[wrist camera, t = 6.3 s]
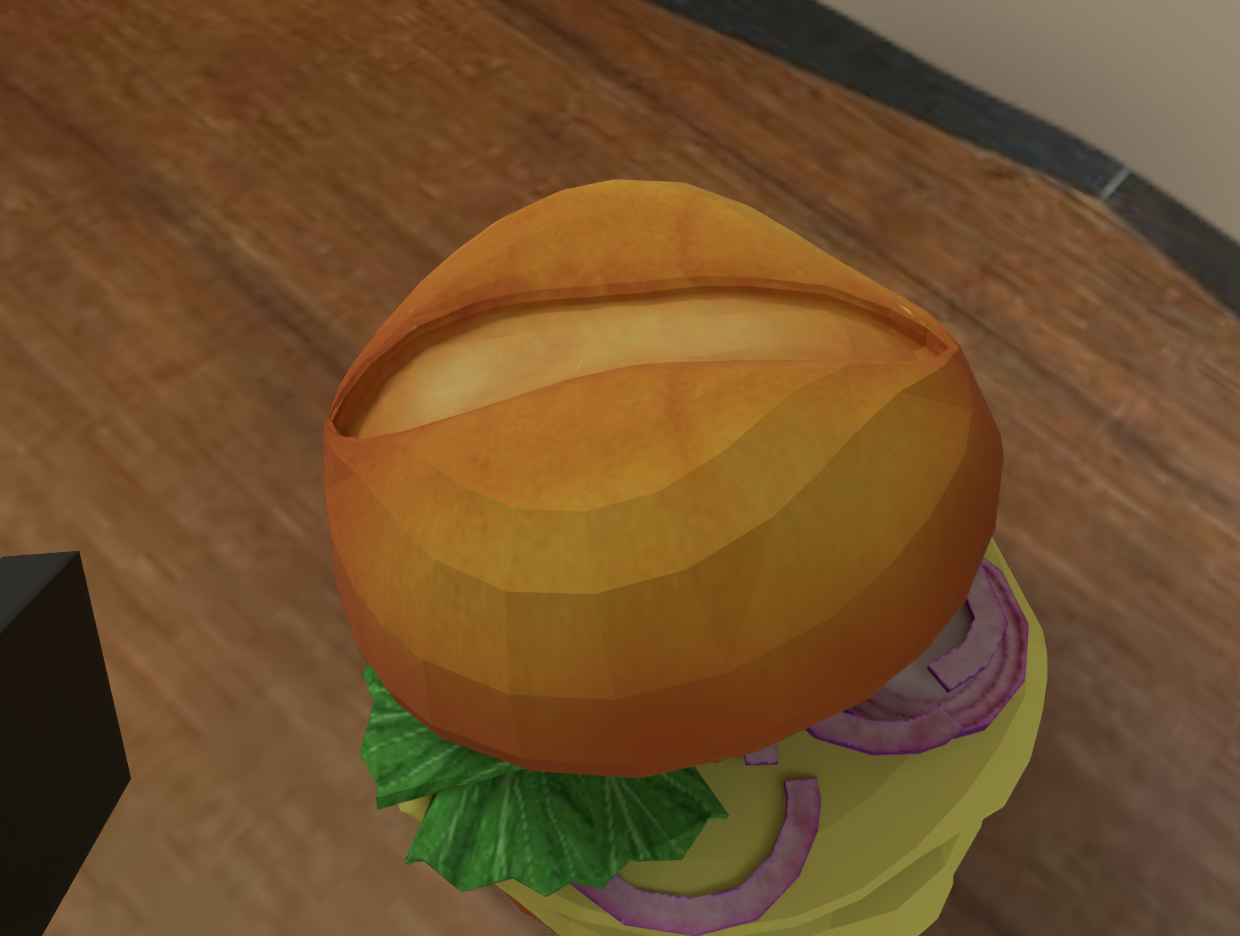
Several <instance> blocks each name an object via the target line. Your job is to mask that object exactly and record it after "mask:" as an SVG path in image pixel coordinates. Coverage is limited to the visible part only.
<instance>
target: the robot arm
mask: <svg viewBox="0 0 1240 936" xmlns="http://www.w3.org/2000/svg"><path fill="white" fill-rule="evenodd" d="M130 779H131V776H130V772H129V767H128V763H127V759H126V754H125V750H124V746H123V741H122V737H121V732H120V728H119V724H118V719H117V715H116V710H115V706H114V702H113V697H112V693H111V689H110V684H109V680H108V675H107V671H106V667H105V662H104V658H103V653H102V649H101V645H100V640H99V636H98V631H97V627H96V623H95V618H94V614H93V610H92V605H91V601H90V596H89V592H88V588H87V583H86V579H85V574H84V570H83V566H82V561H81V557H80V552H79V551H72V552H59V553H46V554H33V555H20V556H6V557H2V558H1V559H0V936H42V935H43V933H44V931H45V929H46V928H47V926H48V924H49V922H50V921H51V919H52V917H53V915H54V914H55V912H56V910H57V908H58V906H59V905H60V903H61V901H62V899H63V898H64V896H65V894H66V892H67V891H68V889H69V887H70V885H71V884H72V882H73V880H74V878H75V876H76V875H77V873H78V871H79V869H80V868H81V866H82V864H83V862H84V861H85V859H86V857H87V855H88V853H89V852H90V850H91V848H92V846H93V845H94V843H95V841H96V839H97V838H98V836H99V834H100V832H101V831H102V829H103V827H104V825H105V823H106V822H107V820H108V818H109V816H110V815H111V813H112V811H113V809H114V808H115V806H116V804H117V802H118V800H119V799H120V797H121V795H122V793H123V792H124V790H125V788H126V786H127V785H128V783H129V781H130Z"/></svg>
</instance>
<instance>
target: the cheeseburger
mask: <svg viewBox="0 0 1240 936" xmlns="http://www.w3.org/2000/svg"><path fill="white" fill-rule="evenodd" d="M1003 459H1004V457H1003V448H1002V442H1001V436H1000V432H999V430H998V427H997V425H996V423H995V421H994V419H993V417H992V414H991V412H990V410H989V408H988V406H987V403H986V401H985V399H984V397H983V395H982V393H981V390H980V388H979V386H978V384H977V382H976V379H975V377H974V375H973V373H972V371H971V369H970V366H969V364H968V362H967V360H966V358H965V355H964V353H963V351H962V349H961V347H960V345H959V344H958V343H957V342H956V340H955V339H954V338H953V337H952V336H951V335H950V334H949V333H948V332H947V331H946V330H945V328H944V327H943V326H942V325H941V324H940V323H939V322H938V321H937V320H936V319H935V318H934V317H932V316H931V315H930V314H928V313H927V312H925V311H924V310H922V309H921V308H920V307H918V306H917V305H915V304H913V303H911V302H910V301H908V300H906V299H904V298H903V297H901V296H899V295H897V294H895V293H894V292H892V291H890V290H888V289H887V288H885V287H883V286H881V285H880V284H878V283H876V282H874V281H873V280H871V279H869V278H868V277H866V276H864V275H863V274H861V273H859V272H857V271H856V270H854V269H852V268H851V267H849V266H847V265H846V264H844V263H842V262H841V261H839V260H837V259H835V258H834V257H832V256H830V255H829V254H827V253H826V252H824V251H822V250H821V249H819V248H818V247H816V246H815V245H813V244H811V243H810V242H808V241H807V240H805V239H803V238H802V237H800V236H799V235H797V234H796V233H794V232H792V231H791V230H789V229H787V228H786V227H784V226H782V225H781V224H779V223H777V222H776V221H774V220H772V219H770V218H769V217H767V216H765V215H764V214H762V213H760V212H759V211H757V210H755V209H753V208H752V207H750V206H748V205H745V204H742V203H740V202H737V201H734V200H731V199H729V198H726V197H723V196H721V195H718V194H715V193H712V192H710V191H707V190H704V189H701V188H699V187H696V186H693V185H691V184H688V183H682V182H661V181H640V180H618V179H614V180H609V181H604V182H599V183H595V184H590V185H585V186H580V187H575V188H570V189H566V190H561V191H559V192H557V193H555V194H552V195H550V196H548V197H546V198H544V199H542V200H540V201H537V202H535V203H533V204H531V205H529V206H527V207H524V208H522V209H520V210H518V211H516V212H514V213H512V214H509V215H508V216H506V217H504V218H502V219H500V220H499V221H497V222H495V223H493V224H492V225H491V226H489V227H488V228H487V229H485V230H484V231H482V232H481V233H480V234H478V235H477V236H475V237H474V238H473V239H471V240H470V241H469V242H467V243H466V244H464V245H463V246H462V247H460V248H459V249H457V250H456V251H455V252H454V253H453V254H452V255H450V256H449V257H448V258H447V259H446V260H445V261H444V262H443V263H441V264H440V265H439V266H438V267H437V268H436V269H435V270H434V271H432V272H431V273H430V274H429V275H428V276H427V277H426V278H425V279H423V280H422V281H421V282H420V283H419V284H418V286H417V287H416V288H415V289H414V290H413V291H412V292H411V293H410V295H409V296H408V297H407V298H406V299H405V300H404V301H403V302H402V304H401V305H400V306H399V307H398V308H397V309H396V310H395V311H394V312H393V314H392V315H391V316H390V317H389V318H388V319H387V320H386V321H385V323H384V324H383V325H382V326H381V327H380V328H379V330H378V331H377V332H376V334H375V335H374V336H373V338H372V339H371V340H370V342H369V343H368V344H367V346H366V347H365V348H364V350H363V351H362V352H361V354H360V355H359V356H358V358H357V359H356V360H355V362H354V363H353V364H352V366H351V367H350V369H349V370H348V372H347V374H346V375H345V377H344V379H343V380H342V382H341V383H340V385H339V387H338V390H337V393H336V395H335V398H334V401H333V403H332V406H331V409H330V411H329V414H328V417H327V419H326V422H325V425H324V448H323V468H324V488H325V497H326V504H327V511H328V518H329V525H330V533H331V543H332V552H333V562H334V571H335V581H336V584H337V587H338V590H339V593H340V596H341V599H342V602H343V605H344V608H345V611H346V614H347V617H348V620H349V623H350V625H351V628H352V631H353V634H354V637H355V640H356V643H357V646H358V648H359V650H360V651H361V653H362V654H363V656H364V657H365V659H366V660H367V662H368V663H369V664H368V665H367V667H366V669H365V670H364V672H363V676H364V679H365V681H366V684H367V686H368V689H369V691H370V694H371V696H372V699H373V701H374V704H373V708H372V711H371V715H370V718H369V722H368V726H367V729H366V733H365V736H364V740H363V744H362V747H361V751H360V755H361V757H362V759H363V761H364V762H365V764H366V766H367V767H368V769H369V771H370V773H371V774H372V776H373V778H374V779H375V781H376V783H377V785H378V787H377V796H376V800H377V809H382V808H385V807H389V806H392V805H396V804H398V806H399V808H400V810H401V811H402V812H403V813H405V814H407V815H408V816H410V817H411V818H413V819H415V820H416V821H418V822H419V823H421V824H420V826H419V829H418V831H417V834H416V836H415V838H414V841H413V843H412V845H411V848H410V850H409V852H408V855H407V857H406V860H405V862H404V863H406V864H408V865H410V864H412V863H414V862H419V861H425V862H426V863H427V864H428V865H430V866H431V867H432V868H433V869H434V870H435V871H437V872H438V873H439V874H440V875H441V876H443V877H444V878H445V879H446V880H447V881H448V882H450V883H451V884H452V885H453V886H454V887H456V888H457V889H458V890H459V891H460V892H465V891H469V890H473V889H476V888H480V887H484V886H487V885H491V884H495V885H497V886H498V887H499V888H501V889H502V890H504V891H505V892H506V894H507V895H508V896H509V897H510V898H511V899H512V901H513V902H514V903H515V904H516V905H517V907H518V908H519V909H520V910H521V911H522V912H524V913H526V914H528V915H530V916H532V917H534V918H536V919H538V920H540V921H541V922H543V923H545V924H546V925H547V926H548V927H550V928H551V929H552V930H553V931H555V932H556V933H557V934H558V935H559V936H919V935H920V934H921V933H922V932H923V931H924V930H925V929H927V928H928V927H929V926H930V925H931V924H932V923H933V922H934V921H936V920H937V919H938V917H939V915H940V913H941V910H942V908H943V906H944V904H945V901H946V899H947V897H948V895H949V892H950V890H951V888H952V886H953V875H954V873H955V871H956V870H957V868H958V866H959V864H960V863H961V861H962V859H963V857H964V856H965V854H966V852H967V850H968V849H969V847H970V845H971V843H972V842H973V840H974V838H975V836H976V835H977V833H978V831H979V829H980V828H981V825H982V821H983V819H984V818H986V817H987V816H989V815H991V814H992V813H994V812H996V811H997V810H999V809H1001V808H1002V807H1004V805H1005V804H1006V802H1007V800H1008V798H1009V797H1010V795H1011V793H1012V791H1013V789H1014V788H1015V786H1016V784H1017V782H1018V781H1019V779H1020V777H1021V775H1022V773H1023V772H1024V770H1025V768H1026V766H1027V764H1028V763H1029V761H1030V759H1031V755H1032V751H1033V747H1034V743H1035V740H1036V736H1037V732H1038V728H1039V724H1040V720H1041V716H1042V712H1043V707H1044V697H1045V691H1046V685H1047V679H1048V674H1047V650H1046V644H1045V639H1044V633H1043V630H1042V628H1041V626H1040V624H1039V622H1038V620H1037V619H1036V617H1035V615H1034V613H1033V611H1032V609H1031V608H1030V606H1029V604H1028V602H1027V600H1026V598H1025V597H1024V595H1023V593H1022V591H1021V589H1020V587H1019V585H1018V584H1017V582H1016V580H1015V578H1014V576H1013V574H1012V573H1011V571H1010V569H1009V567H1008V565H1007V563H1006V561H1005V560H1004V558H1003V556H1002V554H1001V552H1000V550H999V549H998V547H997V545H996V543H995V541H994V539H993V537H992V535H993V533H994V530H995V526H996V517H997V508H998V499H999V491H1000V482H1001V473H1002V466H1003Z"/></svg>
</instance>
